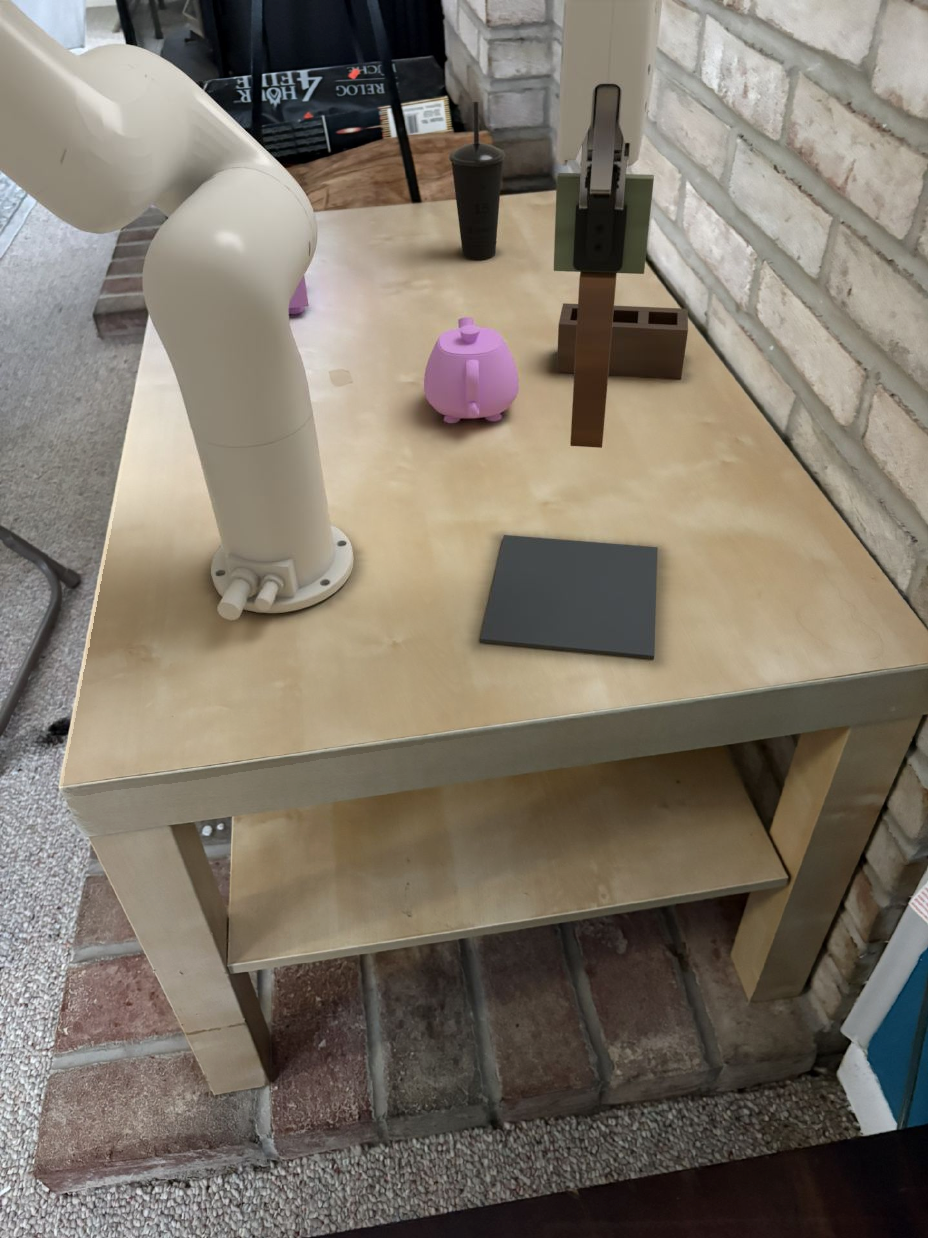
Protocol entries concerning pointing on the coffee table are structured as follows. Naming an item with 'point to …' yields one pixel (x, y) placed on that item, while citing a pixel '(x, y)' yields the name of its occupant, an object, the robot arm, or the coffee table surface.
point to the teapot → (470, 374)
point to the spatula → (597, 298)
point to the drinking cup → (477, 194)
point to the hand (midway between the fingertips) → (598, 263)
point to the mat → (573, 597)
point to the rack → (633, 341)
